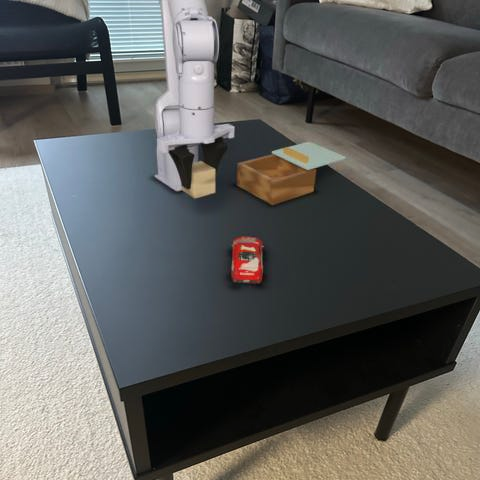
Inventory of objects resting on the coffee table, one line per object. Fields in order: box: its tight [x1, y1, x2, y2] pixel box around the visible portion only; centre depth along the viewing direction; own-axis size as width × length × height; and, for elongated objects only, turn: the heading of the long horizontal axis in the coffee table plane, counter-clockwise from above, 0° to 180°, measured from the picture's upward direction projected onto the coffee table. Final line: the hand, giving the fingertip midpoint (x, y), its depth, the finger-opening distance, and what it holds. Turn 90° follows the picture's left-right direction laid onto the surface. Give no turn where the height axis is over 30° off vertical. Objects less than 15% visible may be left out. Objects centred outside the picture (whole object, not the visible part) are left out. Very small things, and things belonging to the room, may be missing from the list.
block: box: [181, 160, 216, 199], centre depth 90 cm, size 4×4×4 cm
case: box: [236, 153, 317, 206], centre depth 108 cm, size 12×12×5 cm
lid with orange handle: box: [271, 141, 347, 170], centre depth 111 cm, size 12×12×2 cm
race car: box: [231, 235, 265, 285], centre depth 84 cm, size 13×5×4 cm, turn 178°
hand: (197, 184), depth 90 cm, fingers closed on block, 4 cm apart
